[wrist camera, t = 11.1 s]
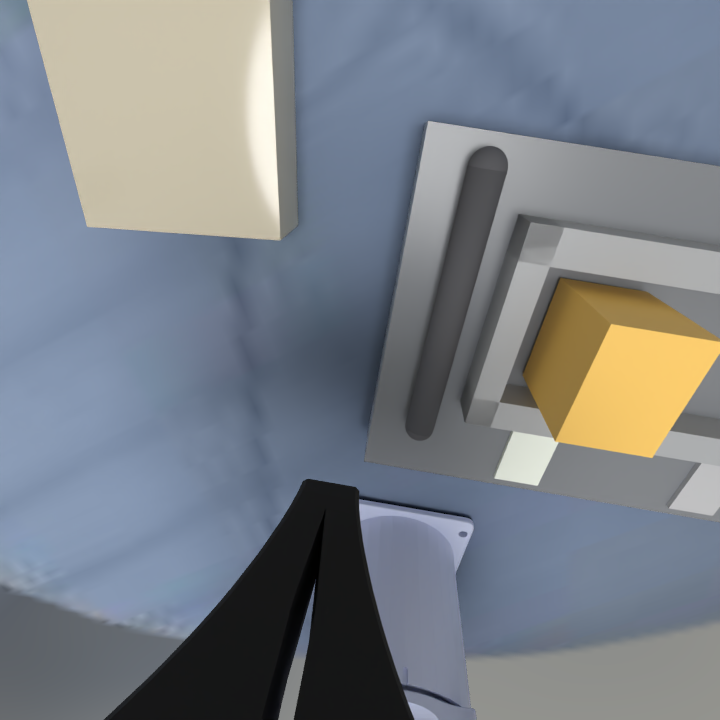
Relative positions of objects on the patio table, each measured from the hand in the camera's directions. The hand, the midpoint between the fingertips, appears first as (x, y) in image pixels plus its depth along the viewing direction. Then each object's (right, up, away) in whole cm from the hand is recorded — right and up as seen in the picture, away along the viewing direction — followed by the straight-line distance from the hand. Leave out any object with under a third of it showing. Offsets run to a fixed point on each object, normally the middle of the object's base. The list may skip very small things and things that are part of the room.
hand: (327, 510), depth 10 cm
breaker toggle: (+9, +5, +5) cm, 11 cm away
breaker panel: (+13, +4, +7) cm, 16 cm away
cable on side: (+4, +6, +5) cm, 9 cm away
